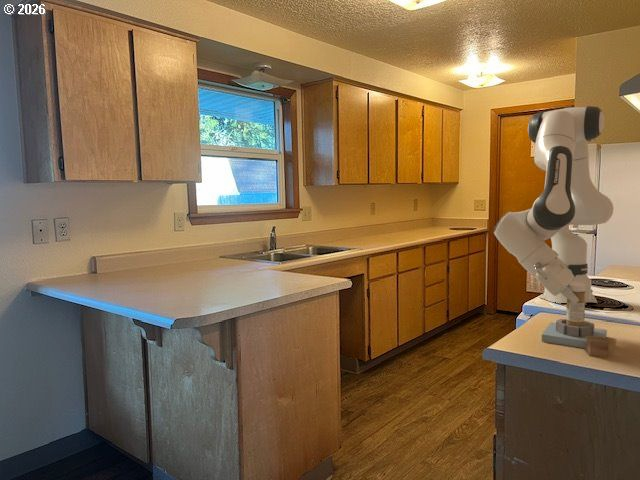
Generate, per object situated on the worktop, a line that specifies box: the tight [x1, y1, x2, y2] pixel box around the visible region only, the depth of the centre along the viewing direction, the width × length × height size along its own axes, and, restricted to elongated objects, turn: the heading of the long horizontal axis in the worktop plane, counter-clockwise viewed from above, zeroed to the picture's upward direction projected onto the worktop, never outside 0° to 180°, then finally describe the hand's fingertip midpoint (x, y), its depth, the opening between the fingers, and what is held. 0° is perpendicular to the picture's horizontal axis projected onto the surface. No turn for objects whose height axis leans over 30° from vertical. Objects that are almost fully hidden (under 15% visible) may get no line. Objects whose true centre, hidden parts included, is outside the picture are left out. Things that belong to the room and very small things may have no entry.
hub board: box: [541, 318, 608, 349], centre depth 127 cm, size 14×14×4 cm
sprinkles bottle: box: [565, 282, 586, 327], centre depth 126 cm, size 5×5×13 cm
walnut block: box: [584, 336, 610, 358], centre depth 116 cm, size 4×4×4 cm
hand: (578, 299), depth 126 cm, fingers open, 4 cm apart
